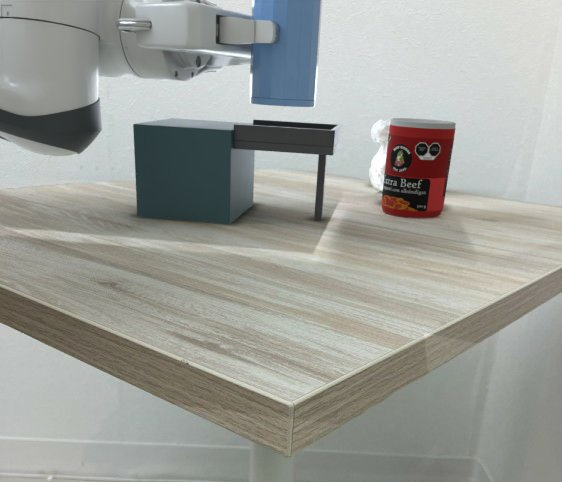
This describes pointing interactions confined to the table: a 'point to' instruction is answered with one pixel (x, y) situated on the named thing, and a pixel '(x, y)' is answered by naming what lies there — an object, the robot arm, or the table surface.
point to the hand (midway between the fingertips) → (294, 36)
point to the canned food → (417, 167)
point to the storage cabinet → (217, 164)
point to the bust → (379, 153)
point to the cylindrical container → (287, 54)
